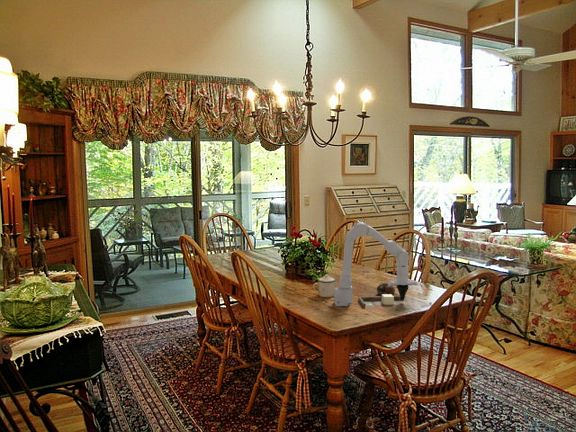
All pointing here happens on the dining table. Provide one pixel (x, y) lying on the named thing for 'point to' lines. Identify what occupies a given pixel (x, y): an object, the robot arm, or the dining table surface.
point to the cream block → (387, 299)
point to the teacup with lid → (325, 286)
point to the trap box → (380, 301)
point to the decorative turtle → (385, 289)
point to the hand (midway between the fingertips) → (402, 299)
